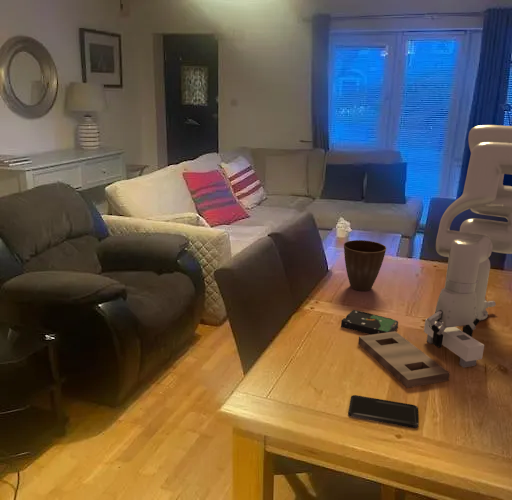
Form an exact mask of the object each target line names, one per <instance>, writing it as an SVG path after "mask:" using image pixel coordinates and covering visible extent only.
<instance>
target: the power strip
mask: <svg viewBox="0 0 512 500" xmlns="http://www.w3.org/2000/svg"><path fill="white" fill-rule="evenodd" d="M427 319H428V318H425V321H424V326H423V332H424V333H425V334H427V335H426V336H427V337H426V342H427V343H429V344H430V345H431V344H433V343H432V340H433V333H434V331H432V329H431V328H430V327H429V324H428V321H427ZM442 323H443V322H442ZM435 324H436V321H435ZM441 326H442V325H440V326H439V327H438V329H440V327H441ZM442 335H443V341H442V347H445V348H446V349H448V350H449V351H450V352H452V353H453V354H455V355H456V356H458V357H459V366H461V367H462V368H463V369H464V368H469V367H474V366H477V360H482V359H483V356H484V355H483V354H484V350H485V344H484V343H482V342H480V341H479V340H477V339H475V338H474V337H473V336H472V337H471V336H469V335H468V334H466V333H464V332H463V330H461V329H460V328H458V327H449V328H446V329H445V330H444V331H443V332H442Z"/></svg>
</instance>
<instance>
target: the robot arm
mask: <svg viewBox="0 0 512 500" xmlns="http://www.w3.org/2000/svg"><path fill="white" fill-rule="evenodd" d="M468 147H469V150H470V157H469V162H468V167H467V171H466V172H467V173H466V177H465V181H464V187H463V192H462V194H461V196H460V197H458V198H457V199H456V200H454V201H453V202H452V203H451V204H450V205H449V206H448V207H447V208H446V210H445V211H444V213H443V214H442V216H441V218H440V221H439V225H438V231H437V235H436V240H435V250H436V252H437V254H438V255H439V256H441V257H445V258H448V261H447V268H446V274H445V275H446V276H445V283H444V288H441V290H440V293H439V295H438V298H437V302H436V307H435V311H434V313H433V314H432V315H430V316H429V317H427V318H426V319H427V321H428V324H429V327H430V328H431V329H432V331H434V333H433V340H432V343H431V344H433V346H435V347H436V348H438V349H441V348H442V347H443V345H442V341H443V335H442V332H443V331H444V330H445V329H446V328H449V327H456V328H458V327H462V331H463V332H464V333H466V334H468V335H469V336H471V337H472V338H473V333H474V330H476V328H477V327H476V326H477V325H479V323H480V321H484V320H486V319H487V318H488V315H489V313H488V311H487V309H488V308H493V307H496V306H497V305H496V301H495V300H488V301H487V299H486V296H487V295H486V294H487V290H488V289H487V288H488V282H489V276H490V271H491V261H490V259H489V258H490V256H491V255H492V252H493V253H499V254H509V255H512V186H511V185H504V177H505V175H512V125H499V124H498V125H497V124H482V125H481V124H480V125H476V126H474V127H472V128H471V129H470V130H469V132H468ZM467 210H470V211H471V212H472V213H474V214H478V215H483V216H491V217H499V218H505V219H506V220H507V221H499V220H492V219H486V218H485V219H484V218H468V219H465V220H464V221H462V223H461V225H460V226H459V230H453V229H452V230H451V229H450V228H451V225H452V222H453V221H454V219H455V218H456V217H457V216H458V215H460V214H462V213H463V212H465V211H467ZM435 321H436V324H435ZM442 322H443V323H442ZM440 325H442V326H441V327H440V329H438V327H439V326H440Z"/></svg>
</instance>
